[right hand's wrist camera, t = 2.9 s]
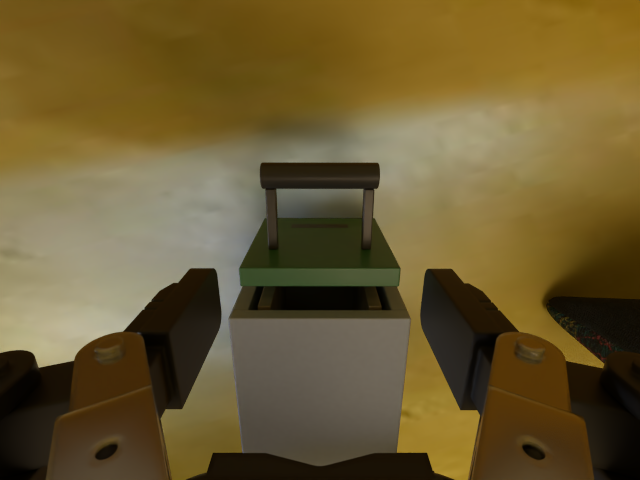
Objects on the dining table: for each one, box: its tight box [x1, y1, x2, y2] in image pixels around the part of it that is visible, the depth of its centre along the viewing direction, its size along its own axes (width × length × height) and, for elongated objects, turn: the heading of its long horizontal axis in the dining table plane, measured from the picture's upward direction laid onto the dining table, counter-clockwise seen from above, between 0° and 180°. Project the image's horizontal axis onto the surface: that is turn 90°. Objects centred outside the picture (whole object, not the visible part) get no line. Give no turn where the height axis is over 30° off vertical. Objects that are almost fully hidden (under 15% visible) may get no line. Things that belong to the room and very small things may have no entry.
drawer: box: [239, 163, 400, 310], centre depth 26 cm, size 21×9×10 cm, turn 0°
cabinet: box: [229, 286, 411, 466], centre depth 28 cm, size 17×10×12 cm, turn 0°
